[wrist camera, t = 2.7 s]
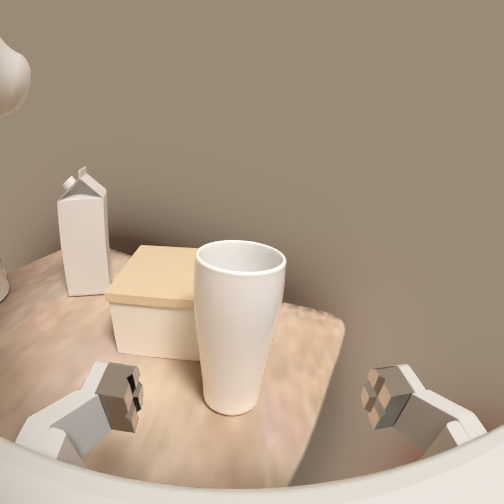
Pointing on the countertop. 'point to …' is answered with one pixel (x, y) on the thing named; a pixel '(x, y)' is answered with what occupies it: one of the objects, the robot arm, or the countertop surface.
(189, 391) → the countertop surface
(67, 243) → the milk carton
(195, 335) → the painted box
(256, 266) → the white ceramic cup
